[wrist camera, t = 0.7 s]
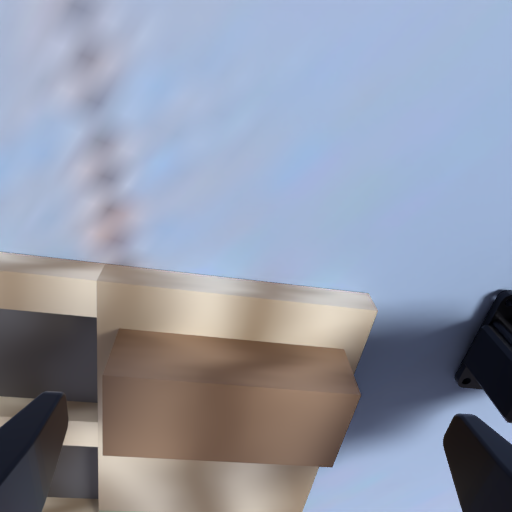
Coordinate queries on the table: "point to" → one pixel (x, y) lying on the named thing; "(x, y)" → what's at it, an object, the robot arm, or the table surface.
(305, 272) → the table surface
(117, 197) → the table surface
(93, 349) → the trap deck
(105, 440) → the bar
